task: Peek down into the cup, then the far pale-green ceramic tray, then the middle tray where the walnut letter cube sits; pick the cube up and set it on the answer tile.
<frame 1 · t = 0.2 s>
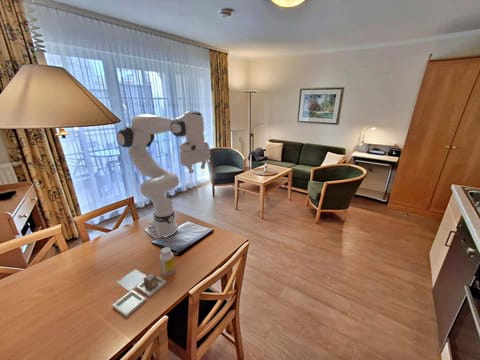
hand: (197, 170, 113), 47 cm above the table, fingers open, 8 cm apart
supplement bottle: (168, 271, 109), on the table
tray middle: (151, 286, 99), on the table
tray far: (129, 304, 90), on the table
letter cube: (151, 285, 99), point 1 cm above the table, touching tray middle
answer tile: (132, 280, 102), on the table
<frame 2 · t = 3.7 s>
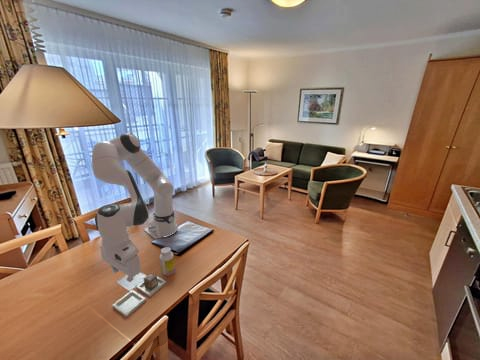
hand: (123, 275, 85), 15 cm above the table, fingers open, 8 cm apart
nothing on the table moved.
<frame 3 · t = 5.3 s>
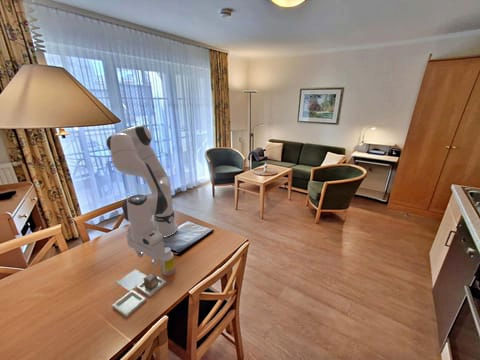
hand: (147, 259, 94), 15 cm above the table, fingers open, 8 cm apart
nothing on the table moved.
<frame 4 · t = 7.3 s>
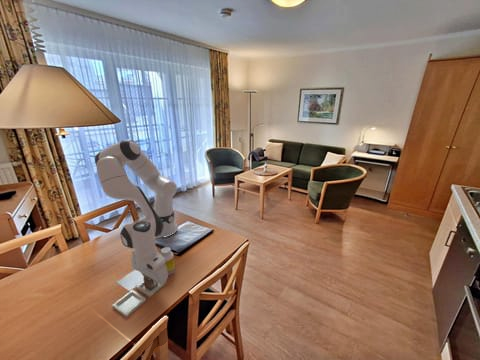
hand: (150, 281, 98), 3 cm above the table, fingers closed on letter cube, 4 cm apart
letter cube: (151, 285, 99), point 1 cm above the table, touching gripper
everything else where it was.
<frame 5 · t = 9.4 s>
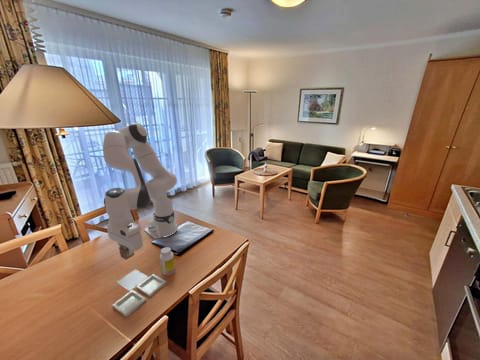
hand: (127, 251, 97), 17 cm above the table, fingers closed on letter cube, 4 cm apart
letter cube: (127, 255, 98), point 14 cm above the table, touching gripper
everything else where it was.
when the fingers open (4 cm above the table, at t = 11.9 s): letter cube drops 2 cm, resting on answer tile.
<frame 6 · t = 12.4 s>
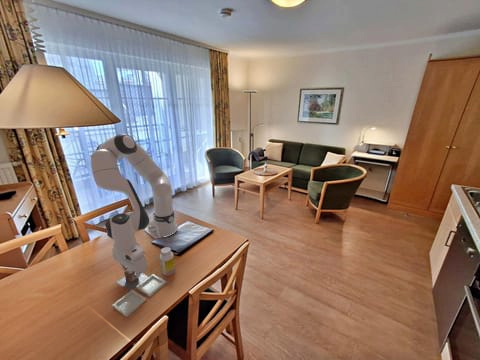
hand: (131, 273, 101), 4 cm above the table, fingers open, 8 cm apart
letter cube: (132, 279, 102), point 1 cm above the table, touching answer tile
everything else where it was.
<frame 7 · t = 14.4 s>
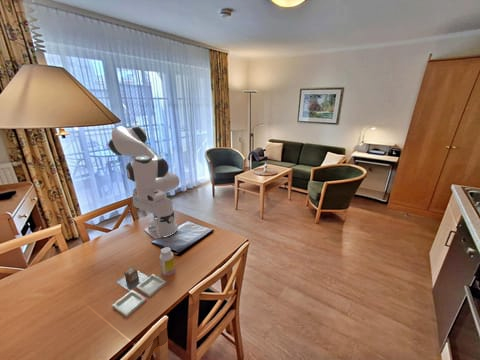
hand: (151, 218, 101), 29 cm above the table, fingers open, 8 cm apart
nothing on the table moved.
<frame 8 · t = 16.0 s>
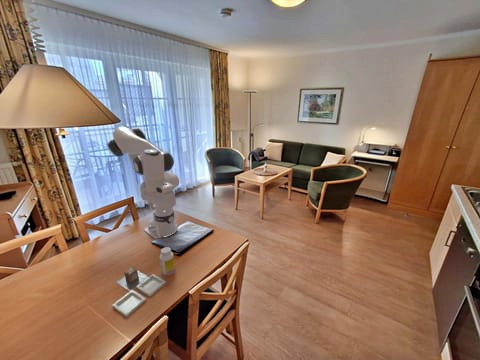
hand: (159, 211, 103), 31 cm above the table, fingers open, 8 cm apart
nothing on the table moved.
at the end: letter cube inside the target area on the answer tile (0.2 cm from its centre), point 0.6 cm above the answer tile's base; letter cube tilted 0°; the gripper is holding nothing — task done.
